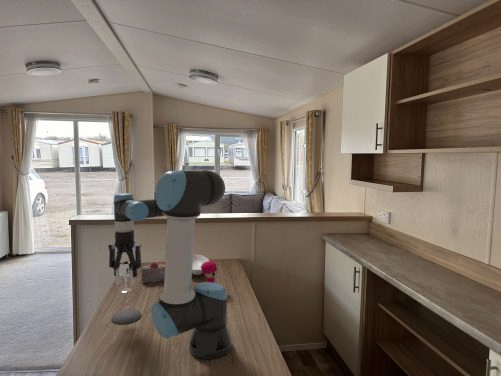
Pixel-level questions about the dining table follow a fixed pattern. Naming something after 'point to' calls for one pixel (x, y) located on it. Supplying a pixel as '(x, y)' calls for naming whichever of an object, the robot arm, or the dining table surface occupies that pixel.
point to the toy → (209, 270)
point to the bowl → (198, 264)
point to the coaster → (126, 316)
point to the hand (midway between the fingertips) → (125, 283)
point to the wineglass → (125, 273)
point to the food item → (153, 273)
